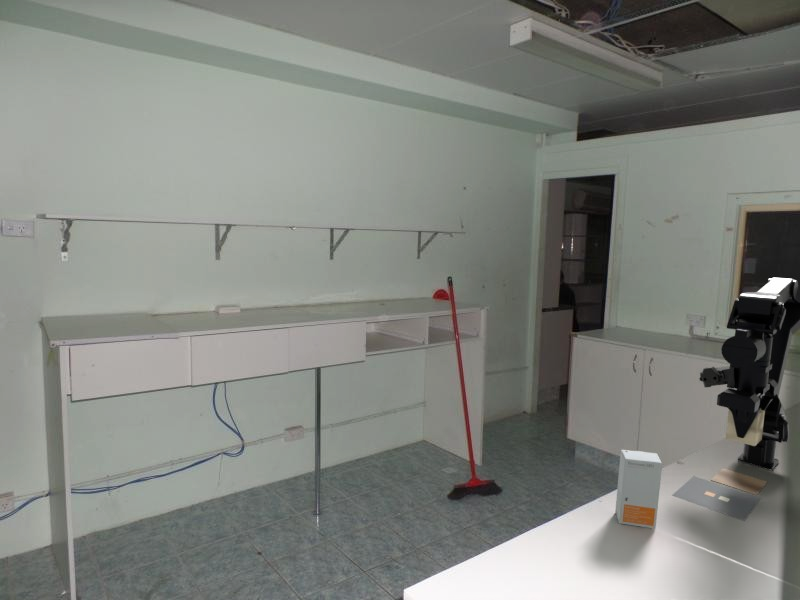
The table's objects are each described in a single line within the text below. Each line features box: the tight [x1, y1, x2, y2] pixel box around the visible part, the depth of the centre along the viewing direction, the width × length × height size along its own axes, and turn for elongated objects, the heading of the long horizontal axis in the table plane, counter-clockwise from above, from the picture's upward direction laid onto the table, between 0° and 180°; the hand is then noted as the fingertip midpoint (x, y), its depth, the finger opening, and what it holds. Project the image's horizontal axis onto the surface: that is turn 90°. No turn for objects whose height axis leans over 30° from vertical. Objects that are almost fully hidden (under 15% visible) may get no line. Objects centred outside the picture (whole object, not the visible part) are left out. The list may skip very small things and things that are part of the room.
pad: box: [710, 467, 768, 496], centre depth 107 cm, size 8×8×1 cm
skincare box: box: [615, 449, 663, 530], centre depth 91 cm, size 6×4×12 cm
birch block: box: [725, 409, 765, 446], centre depth 106 cm, size 5×5×6 cm
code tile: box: [671, 475, 763, 522], centre depth 101 cm, size 12×12×1 cm
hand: (744, 433), depth 106 cm, fingers closed on birch block, 5 cm apart
